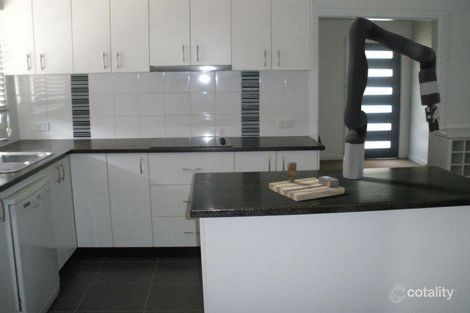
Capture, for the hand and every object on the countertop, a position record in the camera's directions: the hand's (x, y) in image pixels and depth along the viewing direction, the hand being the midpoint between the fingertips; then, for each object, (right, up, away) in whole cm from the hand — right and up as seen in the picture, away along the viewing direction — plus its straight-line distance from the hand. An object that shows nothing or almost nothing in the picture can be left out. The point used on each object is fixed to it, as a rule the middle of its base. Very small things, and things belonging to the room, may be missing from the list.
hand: (434, 131), depth 181 cm
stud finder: (-45, -23, +3) cm, 50 cm away
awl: (-60, -25, +10) cm, 65 cm away
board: (-54, -26, +3) cm, 60 cm away
